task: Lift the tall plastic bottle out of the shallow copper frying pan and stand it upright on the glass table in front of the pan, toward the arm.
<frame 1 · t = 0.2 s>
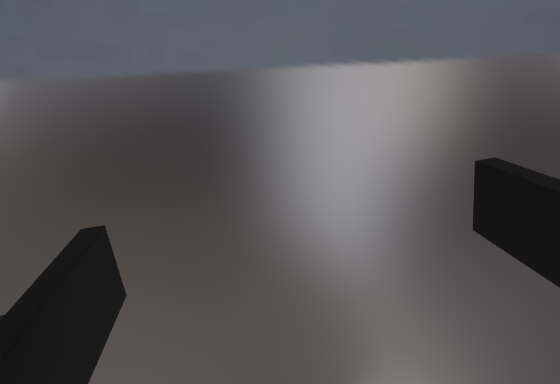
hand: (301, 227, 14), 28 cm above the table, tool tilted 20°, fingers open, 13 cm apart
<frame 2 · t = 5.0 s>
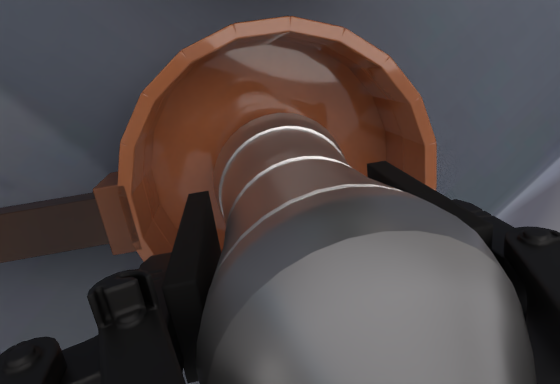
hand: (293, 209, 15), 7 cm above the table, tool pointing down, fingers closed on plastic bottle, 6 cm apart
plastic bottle: (272, 165, 22), resting on pan, touching gripper
pan: (272, 165, 22), on the table
pan handle: (51, 223, 18), point 4 cm above the table
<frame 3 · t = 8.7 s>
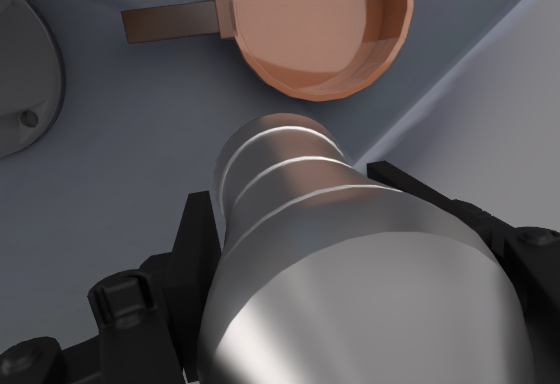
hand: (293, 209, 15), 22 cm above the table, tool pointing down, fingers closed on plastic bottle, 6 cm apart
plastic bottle: (273, 165, 22), point 15 cm above the table, touching gripper
pan: (310, 12, 34), on the table
pan handle: (182, 22, 29), point 4 cm above the table
when the fingers open (7 cm above the table, at t = 12.6 s): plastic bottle stays where it is, on the table.
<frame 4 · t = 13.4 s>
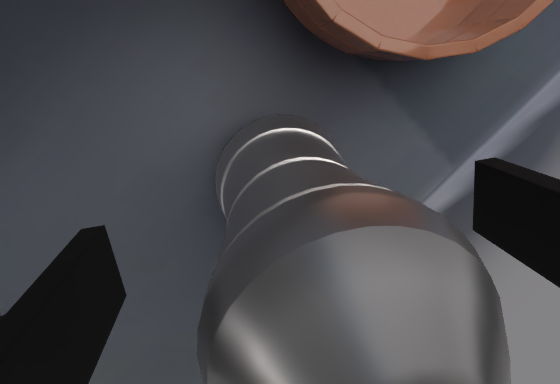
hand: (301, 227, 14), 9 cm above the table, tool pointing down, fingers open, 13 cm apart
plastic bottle: (273, 166, 22), on the table
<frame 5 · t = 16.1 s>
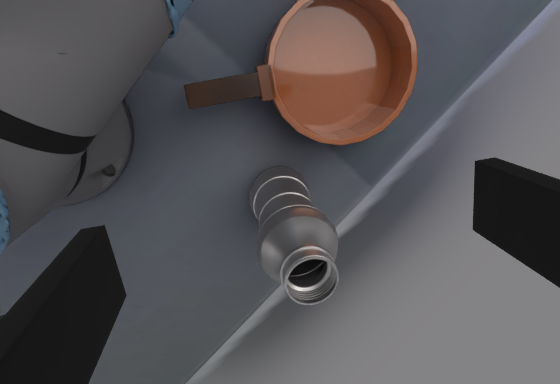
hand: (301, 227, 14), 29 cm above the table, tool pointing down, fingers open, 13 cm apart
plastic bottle: (276, 189, 44), on the table
pan: (330, 68, 41), on the table
pan handle: (230, 88, 37), point 4 cm above the table
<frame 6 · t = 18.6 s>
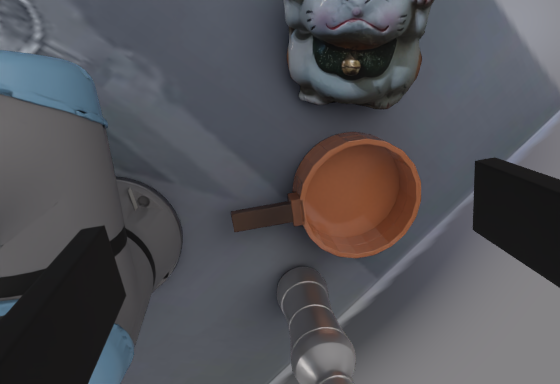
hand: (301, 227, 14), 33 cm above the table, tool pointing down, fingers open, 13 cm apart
lucky cat figurine: (336, 40, 43), on the table
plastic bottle: (298, 281, 52), on the table
pan: (348, 188, 49), on the table
pan handle: (267, 213, 44), point 4 cm above the table
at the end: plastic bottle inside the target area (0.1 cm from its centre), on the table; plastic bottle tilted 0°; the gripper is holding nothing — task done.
